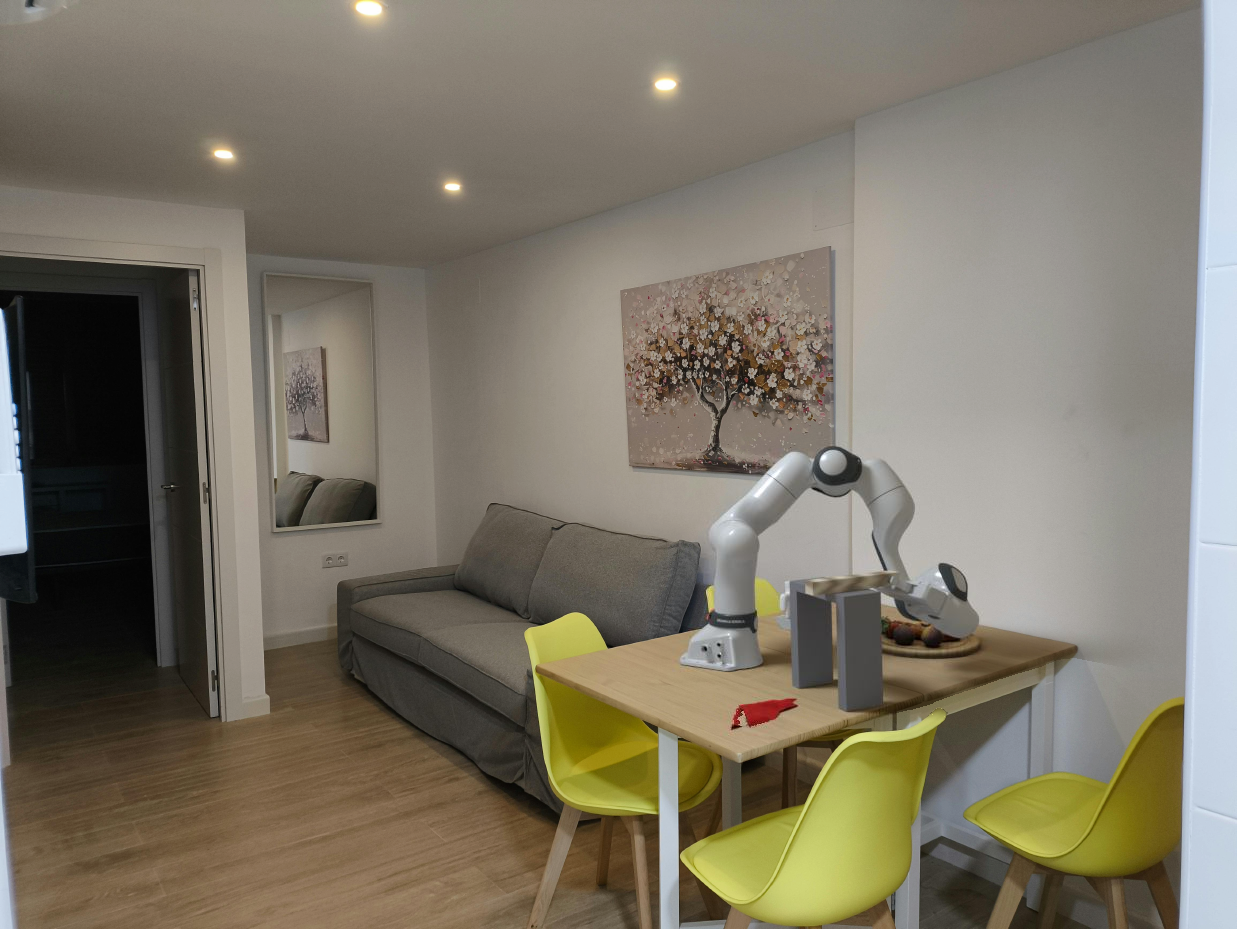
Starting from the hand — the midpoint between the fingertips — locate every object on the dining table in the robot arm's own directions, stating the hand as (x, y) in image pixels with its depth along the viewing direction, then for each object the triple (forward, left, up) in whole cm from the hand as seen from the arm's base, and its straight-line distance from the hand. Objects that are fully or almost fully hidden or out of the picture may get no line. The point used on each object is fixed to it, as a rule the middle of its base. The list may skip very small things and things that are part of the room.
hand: (882, 577), depth 201 cm
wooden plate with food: (+4, +49, -29) cm, 57 cm away
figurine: (-35, +57, -28) cm, 73 cm away
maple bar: (-6, -6, -2) cm, 8 cm away
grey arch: (-11, -4, -28) cm, 30 cm away
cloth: (-24, -21, -29) cm, 43 cm away
